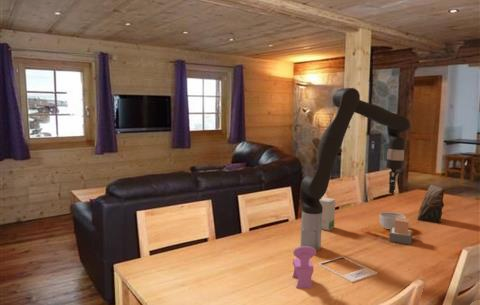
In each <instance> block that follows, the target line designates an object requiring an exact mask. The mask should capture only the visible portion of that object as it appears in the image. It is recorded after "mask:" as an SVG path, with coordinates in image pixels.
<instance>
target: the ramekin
mask: <svg viewBox="0 0 480 305" xmlns="http://www.w3.org/2000/svg"><path fill="white" fill-rule="evenodd" d="M396 217H399V218H406V219H407V217H406V216H405V215H404V214H402V213H401V214H400V213H398V212H392V211H391V212H390V211H388V212H387V211H385V212H381V213H379V225H380V227H381V226H382V227H384V228H389V229H391V227H392V228H395V219H396ZM382 227H381V228H382ZM384 228H383V229H384Z"/></svg>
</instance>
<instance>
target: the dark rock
mask: <svg viewBox="0 0 480 305" xmlns="http://www.w3.org/2000/svg"><path fill="white" fill-rule="evenodd" d="M444 193H445V188H443V187H441V186H437V185H435V184H432V183H431V184H430V185H429V187H428V188H427V191H426V193H425V195H424V197H423V200H422V202H421V205H420V207H419V211H418V214H417V221H420V222H421V221H422V222H426V223H427V222H429V223H434V224H441V223H442V222H441V219H442V216H443V208H444V206H445V205H444V195H445V194H444Z"/></svg>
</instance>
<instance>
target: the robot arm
mask: <svg viewBox="0 0 480 305" xmlns="http://www.w3.org/2000/svg"><path fill="white" fill-rule="evenodd" d="M332 103H333V105H334V107H335V106H336V107H337V108H338V109H337V112H336V115H335V117H334V118H333V119H332V120H331V122H330V123H329V124H328V126H327V127H326V128H325V129H324V131H323V133H322V136H321V137H320V141H319V144H318V149H317V167H316V170H315V173H314V175H306V176H305V177H304V178H303V179H302V180H301V184H300V191H299V192H300V200H299V201H300V205H301V220H300V221H301V223H300V226H301V227H300V246H299V247H302V246H309V247H312V248H314V249H315V250H316V252H317V251H321V249H322V248H321V246H322V230H323V229H322V211H323V207H322V205H321V203H320V201H319V200H320V199H322V198H324V196H325V194H326V193H327V190H328V188H329V183H330V179H331V176H332V172H333V170H334V166H335V163H336V160H337V157H338V154H339V152H340V149H341V147H342V144H343V142H344V138H345V136H346V133H347V131H348V128H349V125H350V122H351V120H352V119H353V116H354V114H355V113H356V114H358V115H360V116H363V117H365V118H367V119H369V120H371V121H373V122H375V123H377V124H380V125H382V126H386V130H387V131H386V132H387V136H388V148H387V153H386V163H385V167H386V168H387V169H390V171H389V172H388V175H389V176H388V182H389V183H388V185H389V189H388V193H389V194H391V195H392V194H395V191H396V183H397V181H398V177H399V172H398V170H403V169H404V159H405V144H406V140H405V138H404V137H403V136H402V135H401V133H404V132H407V131H409V130H410V128H411V122H410V119H408V118H407V117H406V116H403V115H401V114H398V113H395V112H391V111H390V110H387V109H385V108H384V107H381V106H380V105H376V104H373V103H369V102H366V101H364V100H361V96H360V92H359V91H358V89H356V88H354V87H344V88H339V89H336V91H335V92H334V93H333V95H332Z"/></svg>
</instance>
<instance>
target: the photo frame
mask: <svg viewBox="0 0 480 305" xmlns="http://www.w3.org/2000/svg"><path fill="white" fill-rule="evenodd" d="M342 258H343V259H344V260H345V261H348V262H350V263H352V264H354V265H356V266H358V267H361V268H360V269H358V270H355V271H354V270H353V271H352V272H349V273H346V274H343V275H342V274H341V273H339V272H336V271H335V270H333V269H331V268H329V267H327V266H325V265H323V264H325V263H327V262H331V261H336V260H338V259H342ZM317 265H318V266H319V267H321V268H323V269H325V270H326V271H329V272H330V273H333V274H334V275H336V276H338V277H340V278H342V279H344V280H345V281H348V282H350V283H351V284H353V283H356V282H359V281H362V280H364V279H368V278H369V277H372V276H376V275H378V272H377V271H375V270H374V269H371V268H369V267H367V266H364V265H362V264H361V263H359V262H355V261H354V260H351V259H350V258H347V257H345V256H344V255H342V256H338V257H334V258H331V259H329V260H326V261H321V262H318V263H317Z"/></svg>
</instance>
